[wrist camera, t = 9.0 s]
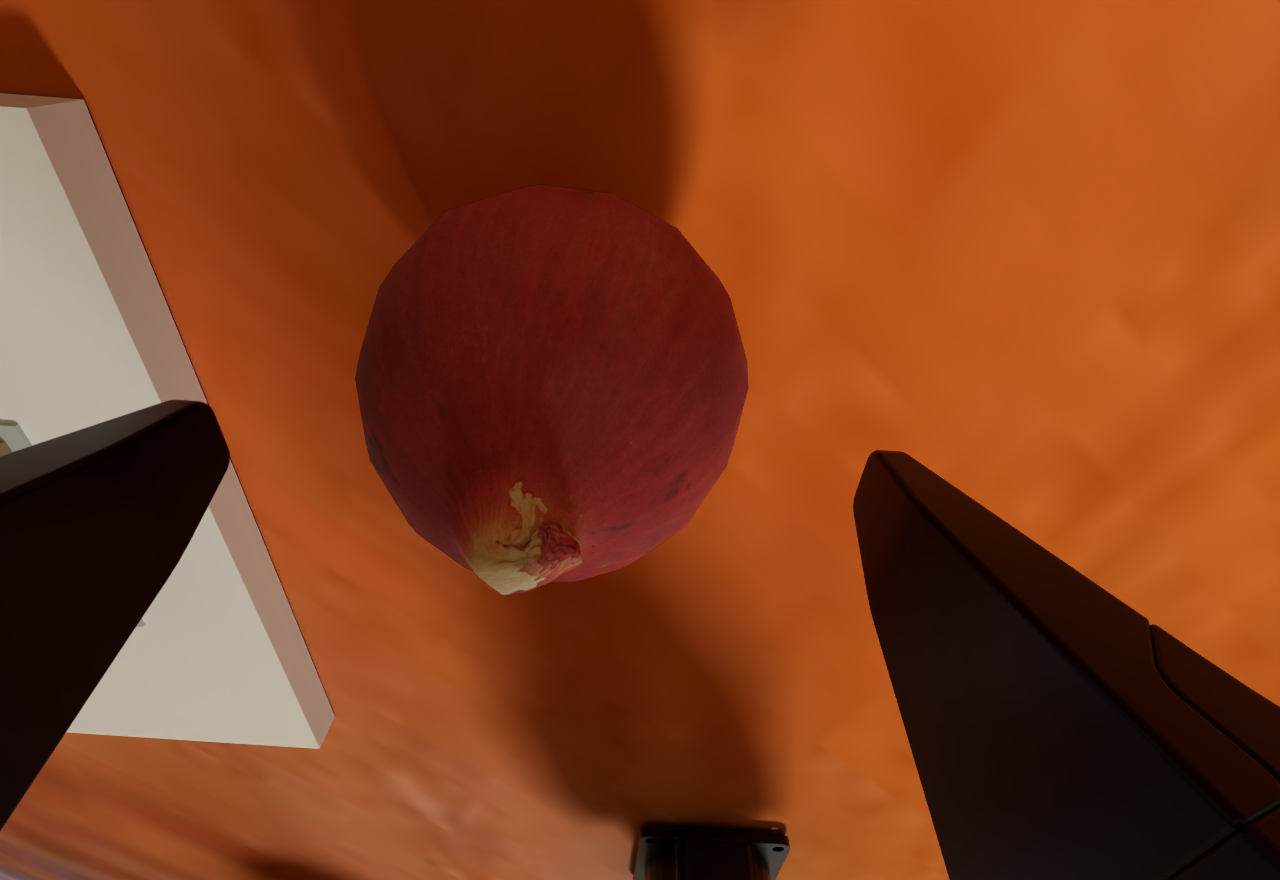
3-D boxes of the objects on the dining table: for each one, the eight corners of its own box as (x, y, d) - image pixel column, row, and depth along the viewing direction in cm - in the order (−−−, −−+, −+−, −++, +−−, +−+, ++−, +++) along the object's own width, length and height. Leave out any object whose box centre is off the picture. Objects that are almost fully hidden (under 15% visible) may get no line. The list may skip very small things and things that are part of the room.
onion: (643, 447, 15) (626, 787, 8) (413, 348, 14) (181, 660, 7) (779, 235, 12) (917, 508, 5) (499, 79, 11) (233, 191, 4)
